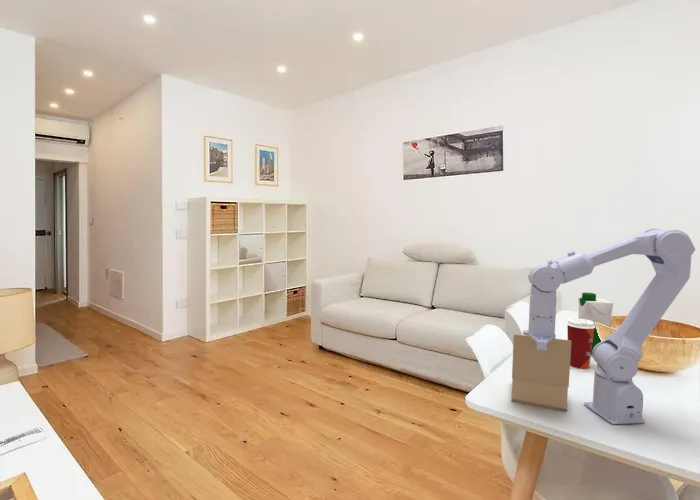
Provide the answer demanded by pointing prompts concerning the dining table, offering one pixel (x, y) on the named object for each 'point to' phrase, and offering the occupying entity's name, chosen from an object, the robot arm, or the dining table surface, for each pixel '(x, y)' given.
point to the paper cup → (580, 341)
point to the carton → (539, 394)
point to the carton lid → (541, 361)
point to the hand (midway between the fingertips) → (539, 370)
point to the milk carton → (595, 312)
